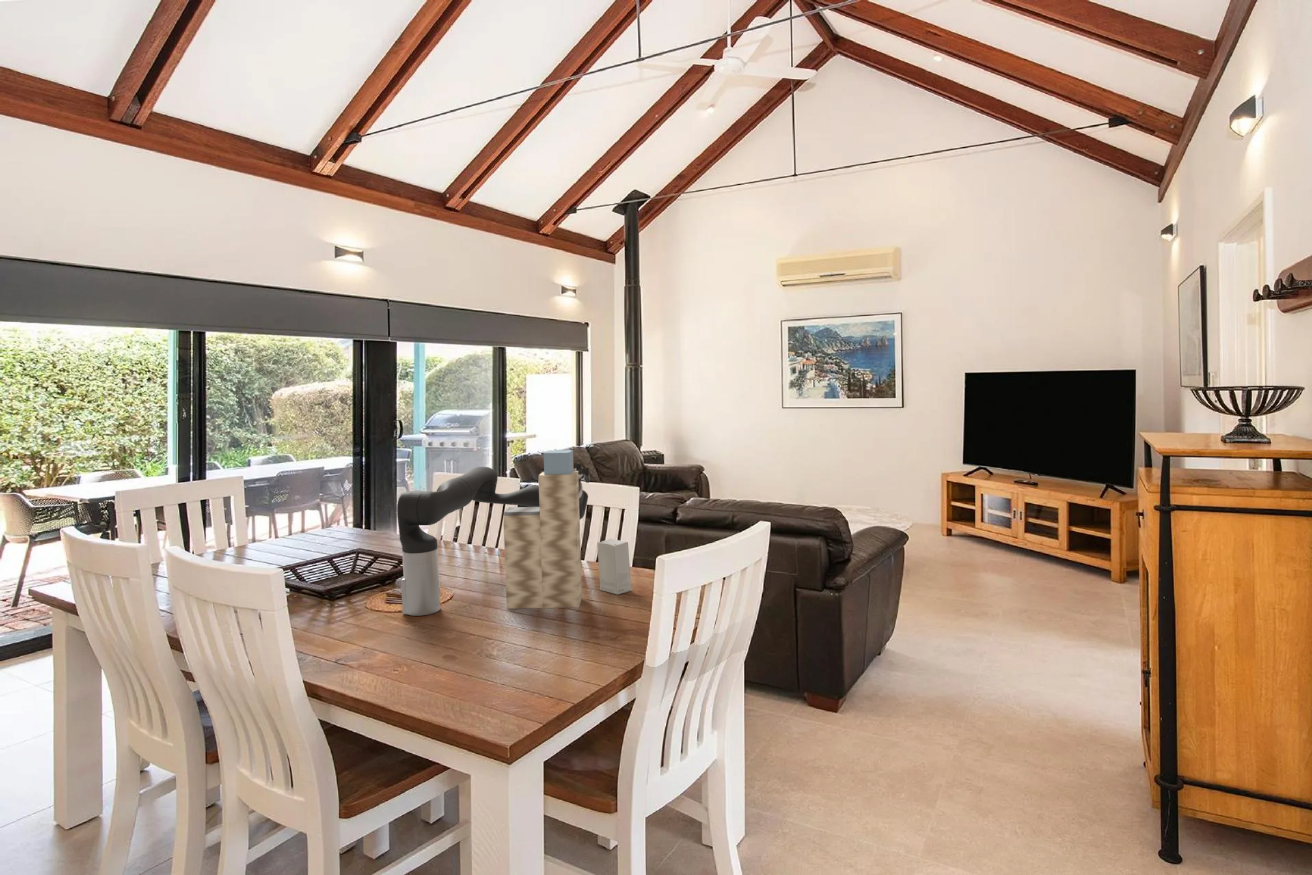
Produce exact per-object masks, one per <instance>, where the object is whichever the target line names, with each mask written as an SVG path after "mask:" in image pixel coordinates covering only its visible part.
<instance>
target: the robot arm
mask: <svg viewBox="0 0 1312 875" xmlns="http://www.w3.org/2000/svg"><path fill="white" fill-rule="evenodd" d="M575 465H576V467H575V468H574V471H578V481H579V517H580V520H581V519H583V518H584V517H585V514H586V510H587V503H588V500H589V499H588V498H589V494H588V492H586V491H585V490H584V489H583V484H582V481H584V482H585V483H586V484H587V483H588V484H589V483H590V481H591V479H590V478H591V474H590V468H589V467H585V468H584V467H583V466H582V465H583V464H580V462H576V464H575ZM542 472H544V468H541V470H540V474H541V473H542ZM498 478H499V477H498V473H497V471H496V470H495V469H493V468H492V467H488V466H478V467H473V468H471V469H470V470H468V471H467V472H464V474H462V475H460V476H457V477H455V478H454V477H453V478H450V479H448V480H445V481H443V482H442V483H441V484H440V485H439V486H438V488H437V489H436V491H427V490H426V491H425V490H423V491H422V490H421V491H420V490H419V491H418V490H415V491H413V490H412V491H411V490H410V491H409V490H408V491H404V492H402V493H401V494H400V495H399V497H398V499H397V504H396V505H397V506H396V513H397V514H396V515H397V522H398V532H399V533H398V534H399V542H400V544H401V549H402V550H401V551H402V552H401V553H402V568H403V569H402V572H403V578H402V579H401V580H400V588H401V605H402V611H401V612H402V615H409V616H412V617H413V616H414V617H415V616H417V617H420V616H429V615H432V614H436V613H438V612H439V611H440V609H441V593H440V592H441V590H440V571H439V552H438V551H439V548H438V539H437V538H436V537H435V536H434V535H431V534H429V533H426V532H425V531H424V530H422V528H421V527H420V526H433V525H435V524H437V523H438V522H440V521H441V520H442V519H444V518H445V517H446V516H447V515H449V514H451V513H453V512H455V511H458V510H461V509H462V508H464V507H467V506H468V505H470V503H471V502H472V501H474V502H479V503H486V504H495V505H510V506H522V507H540V506H539V485H533V486H532V485H530V486H527V487H524V488H521V489H518V490H516V491H512V492H508V493H497V492H496V489H497V484H498Z"/></svg>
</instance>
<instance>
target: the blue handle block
mask: <svg viewBox="0 0 1312 875" xmlns="http://www.w3.org/2000/svg"><path fill="white" fill-rule="evenodd" d="M543 469H544V475H570V474H571V473H572V472H573V471H574V469H575V468H574V450H573V449H556V450H555V449H553V450H552V449H550V450H549V449H548V450H546V451H544V452H543Z"/></svg>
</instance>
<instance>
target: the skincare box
mask: <svg viewBox="0 0 1312 875" xmlns="http://www.w3.org/2000/svg"><path fill="white" fill-rule="evenodd" d="M596 543H597V558H598V559H597V560H598V573H599V574H598V575H599V578H598V579H599V590H600V591H604V592H606V593H607V592H608V593H610V594H613V595H620V594H624V593H628V592H631V591H632V581H631V580H632V579H631V566H630V563H631V562H630V554H629V553H630V551H629V541H624V540H619V539H613V538H610V539H605V540H602V541H598V542H596Z"/></svg>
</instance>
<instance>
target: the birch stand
mask: <svg viewBox="0 0 1312 875" xmlns="http://www.w3.org/2000/svg"><path fill="white" fill-rule="evenodd" d="M538 486H539V506H540V507H530V506H516V507H515V506H514V507H508V508H507V509H506V510H504V512H503V516H502V517H503V539H504V540H503V541H504V543H503V545H504V546H503V548H504V572H505V594H506V595H505V596H506V599H505V600H506V609H508V610H509V609H510V610H511V609H551V608H552V609H554V608H555V609H561V608H580V606H581V602H582V601H583V600H582V599H583V592H582V591H583V590H582V561H581V560H582V559H581V526H580V525H581V524H580V522H581V521H580V520H581V519H580V517H579V481H578V471H573V472H572V473H571V474H570V475H544V472H542V473H541V472H540V473H539V474H538Z"/></svg>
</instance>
